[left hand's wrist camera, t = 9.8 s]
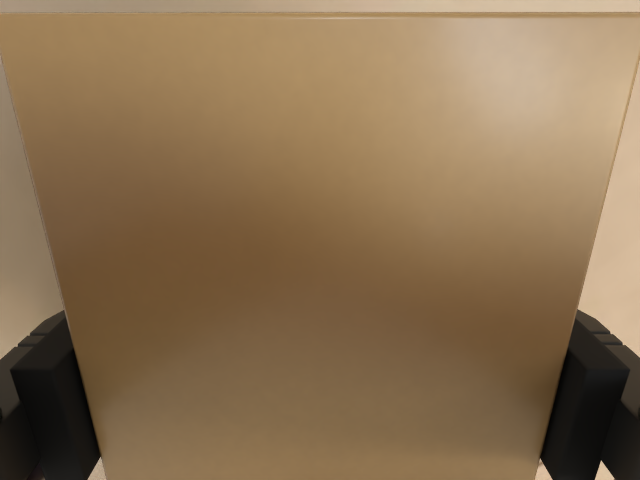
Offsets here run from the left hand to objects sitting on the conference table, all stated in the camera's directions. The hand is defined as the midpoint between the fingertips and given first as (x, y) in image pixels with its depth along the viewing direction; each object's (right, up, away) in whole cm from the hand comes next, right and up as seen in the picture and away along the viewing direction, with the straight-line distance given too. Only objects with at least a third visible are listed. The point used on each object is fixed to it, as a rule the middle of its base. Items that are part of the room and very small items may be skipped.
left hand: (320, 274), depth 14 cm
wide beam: (0, -17, +8) cm, 19 cm away
